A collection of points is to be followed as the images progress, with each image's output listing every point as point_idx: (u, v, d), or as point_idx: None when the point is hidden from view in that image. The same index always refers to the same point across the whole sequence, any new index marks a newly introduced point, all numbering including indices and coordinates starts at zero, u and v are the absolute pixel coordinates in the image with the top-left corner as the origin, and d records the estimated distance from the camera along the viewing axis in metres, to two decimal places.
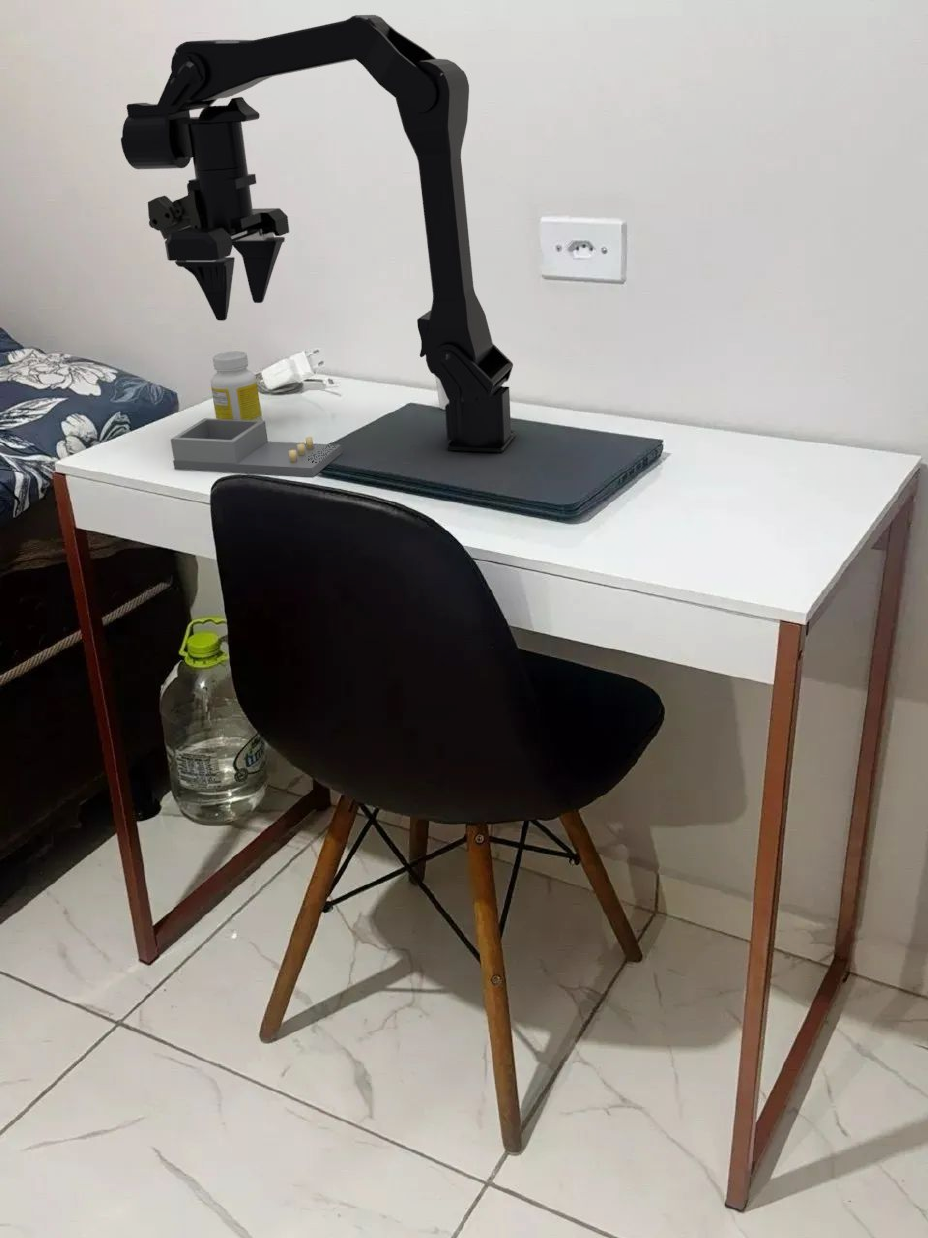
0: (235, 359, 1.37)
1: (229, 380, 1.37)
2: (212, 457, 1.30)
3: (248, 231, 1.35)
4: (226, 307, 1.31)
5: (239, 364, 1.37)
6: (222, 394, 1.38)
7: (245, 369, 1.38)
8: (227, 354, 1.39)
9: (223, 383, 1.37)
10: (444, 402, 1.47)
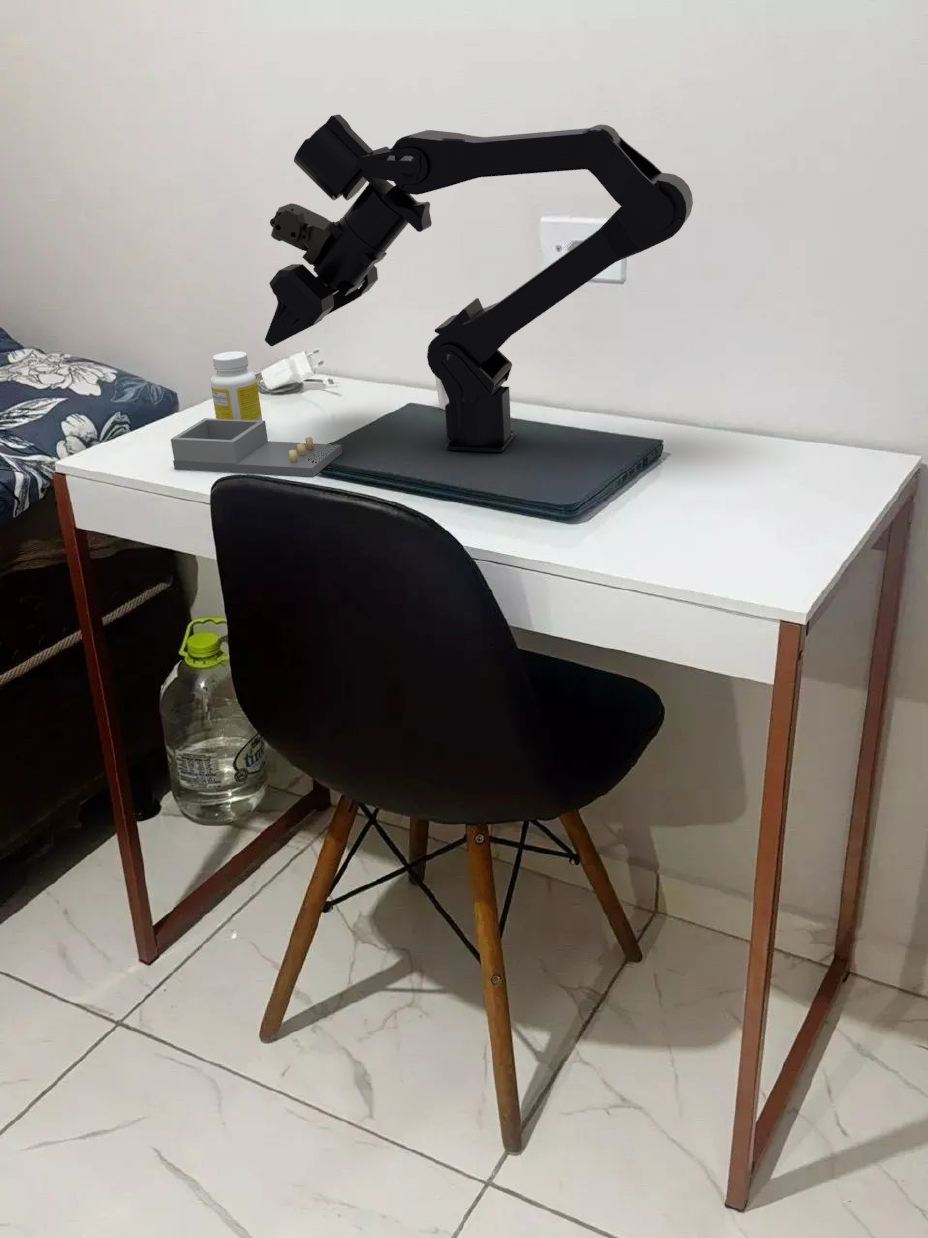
0: (235, 359, 1.37)
1: (229, 380, 1.37)
2: (212, 457, 1.30)
3: None
4: (281, 341, 1.30)
5: (239, 364, 1.37)
6: (222, 394, 1.38)
7: (245, 369, 1.38)
8: (227, 354, 1.39)
9: (223, 383, 1.37)
10: (444, 402, 1.47)
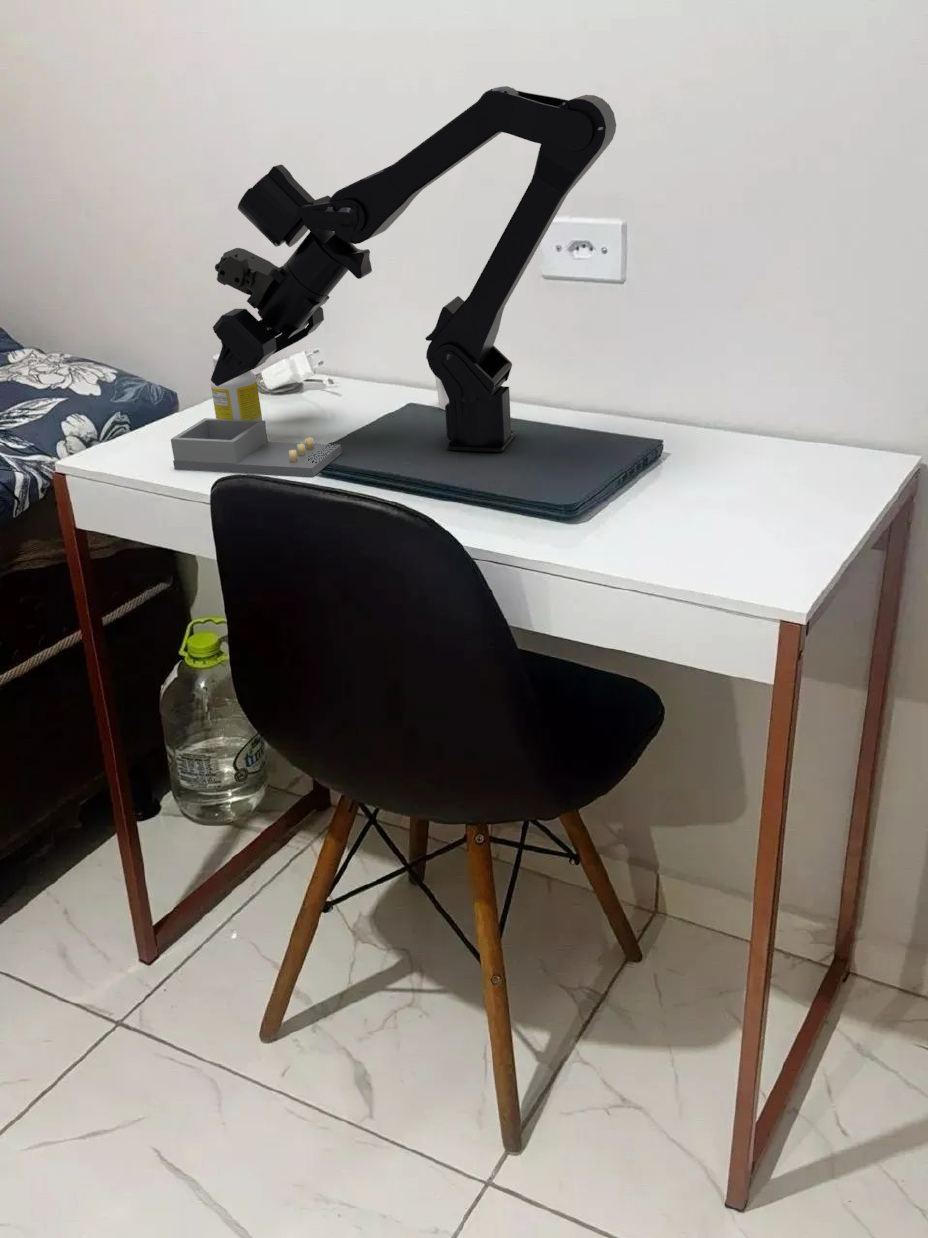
0: None
1: None
2: (212, 457, 1.30)
3: None
4: (226, 381, 1.34)
5: None
6: (222, 394, 1.38)
7: None
8: None
9: None
10: (444, 402, 1.47)
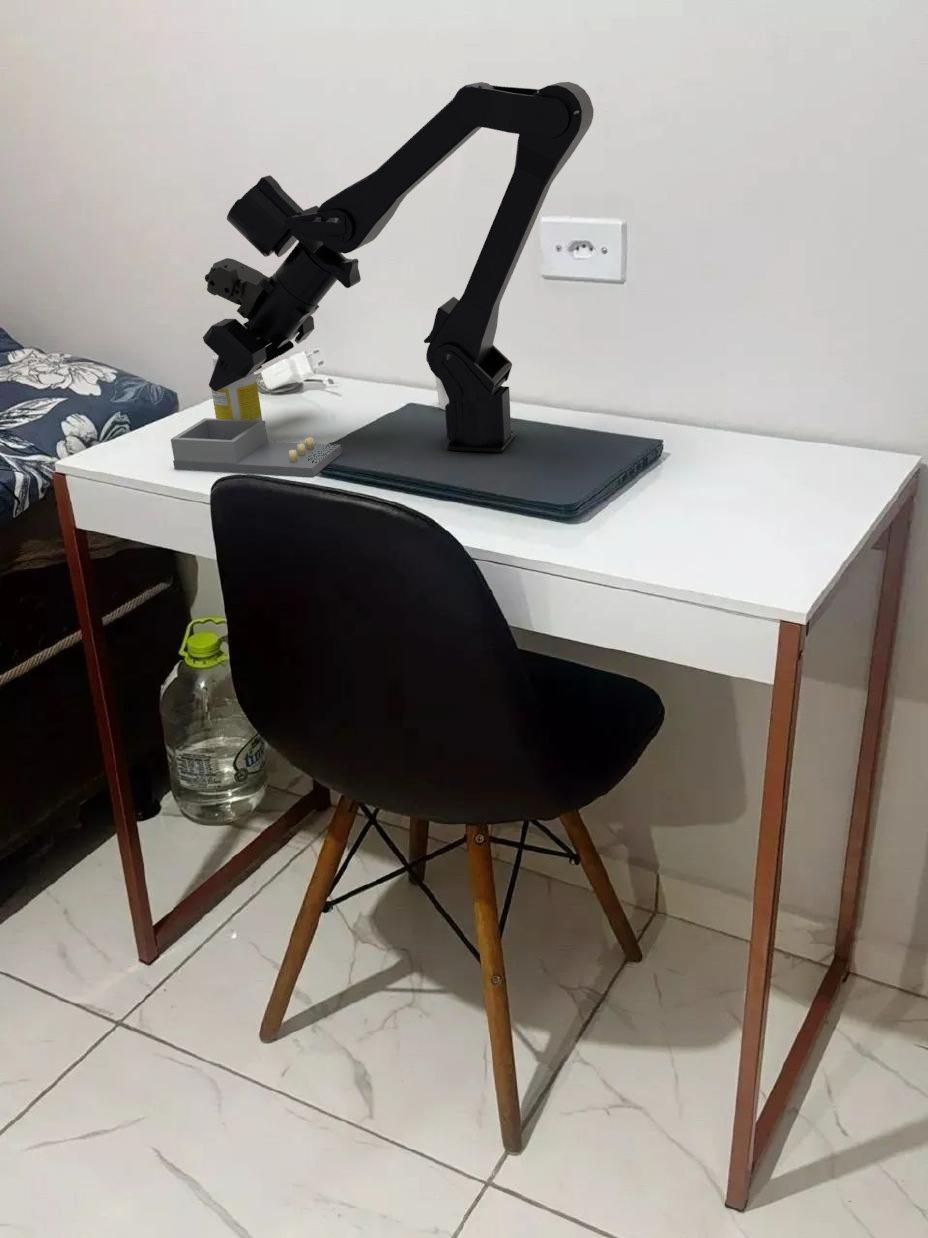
0: None
1: None
2: (212, 457, 1.30)
3: None
4: None
5: None
6: (222, 394, 1.38)
7: None
8: None
9: None
10: (444, 402, 1.47)
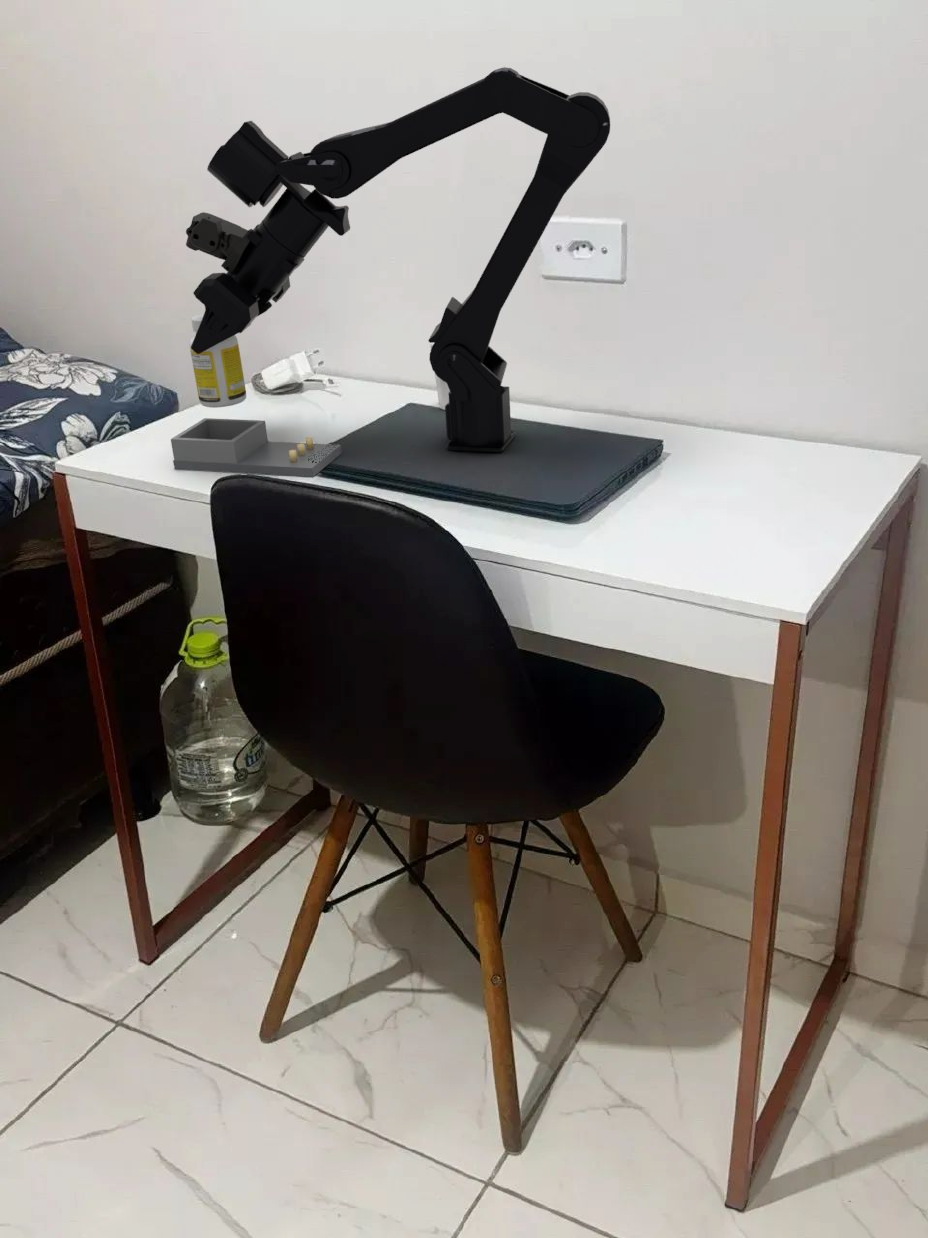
0: None
1: None
2: (212, 457, 1.30)
3: None
4: (208, 348, 1.29)
5: None
6: (205, 357, 1.31)
7: None
8: None
9: None
10: (444, 402, 1.47)
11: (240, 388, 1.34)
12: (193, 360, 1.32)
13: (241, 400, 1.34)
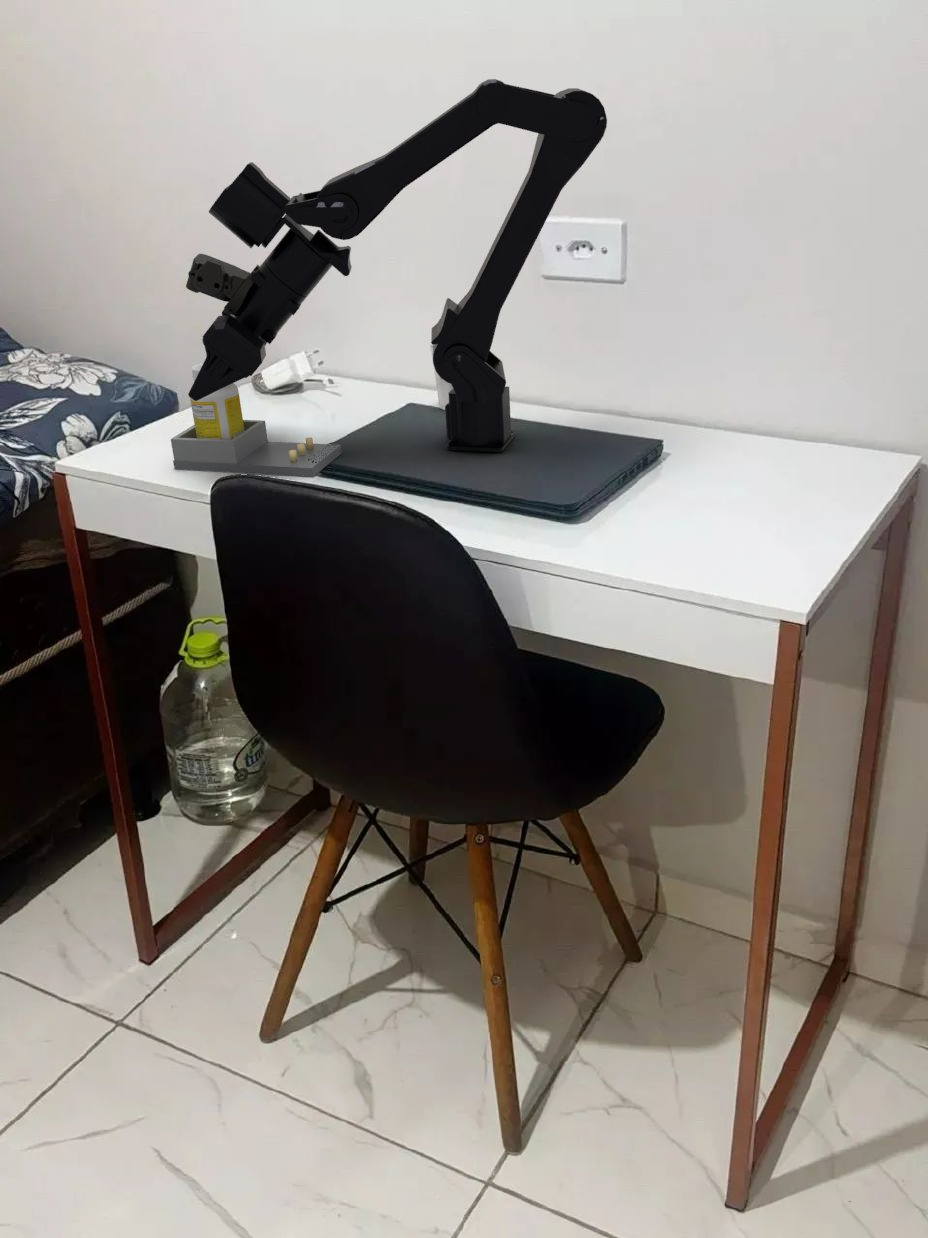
0: None
1: (216, 392, 1.29)
2: (212, 457, 1.30)
3: None
4: (207, 395, 1.26)
5: None
6: (208, 407, 1.29)
7: None
8: None
9: (210, 395, 1.29)
10: (444, 402, 1.47)
11: None
12: (194, 410, 1.30)
13: None
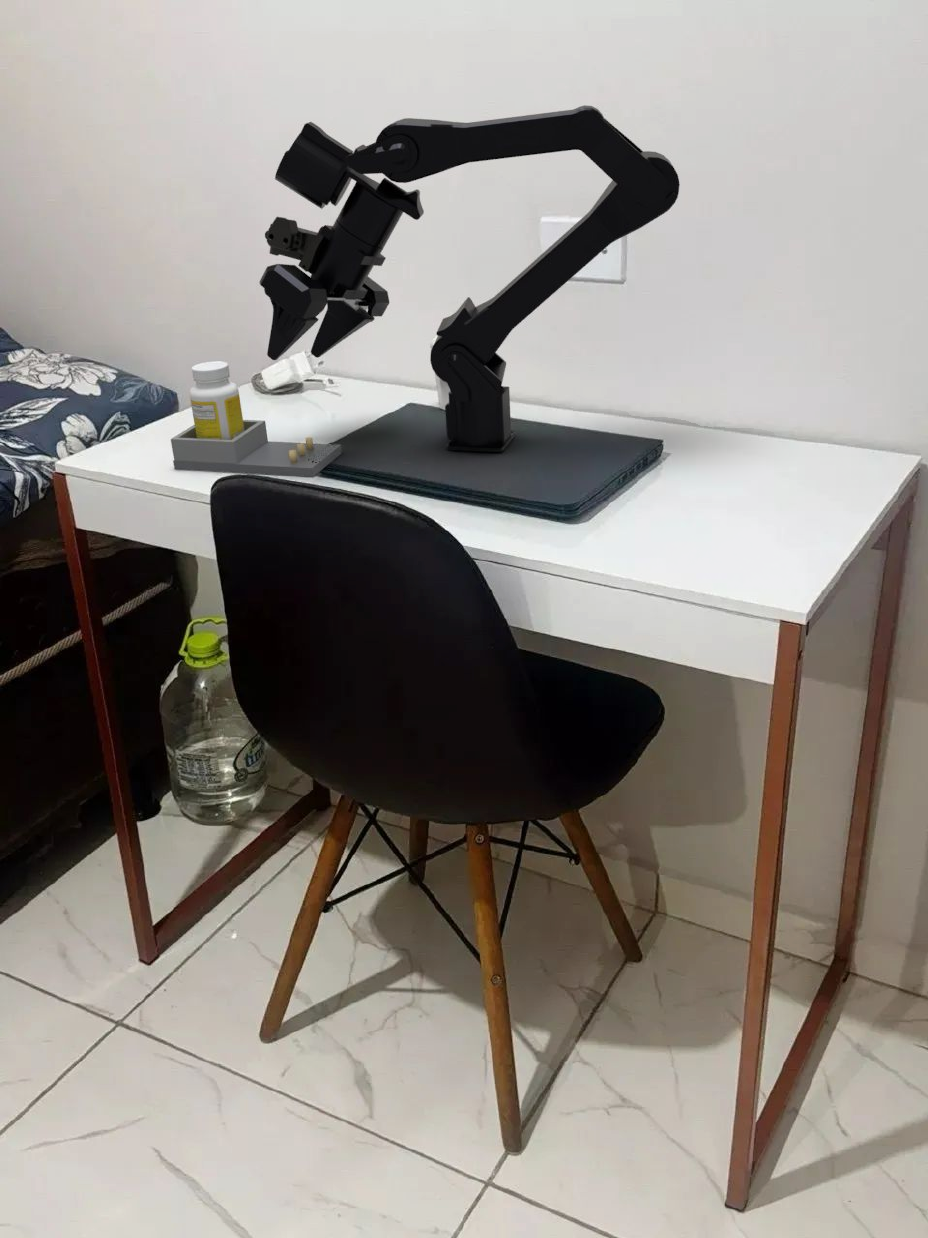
0: (220, 369, 1.29)
1: (216, 392, 1.29)
2: (212, 457, 1.30)
3: None
4: (282, 352, 1.26)
5: (224, 374, 1.29)
6: (208, 407, 1.29)
7: None
8: (206, 365, 1.30)
9: (210, 395, 1.29)
10: (444, 402, 1.47)
11: None
12: (194, 410, 1.30)
13: None
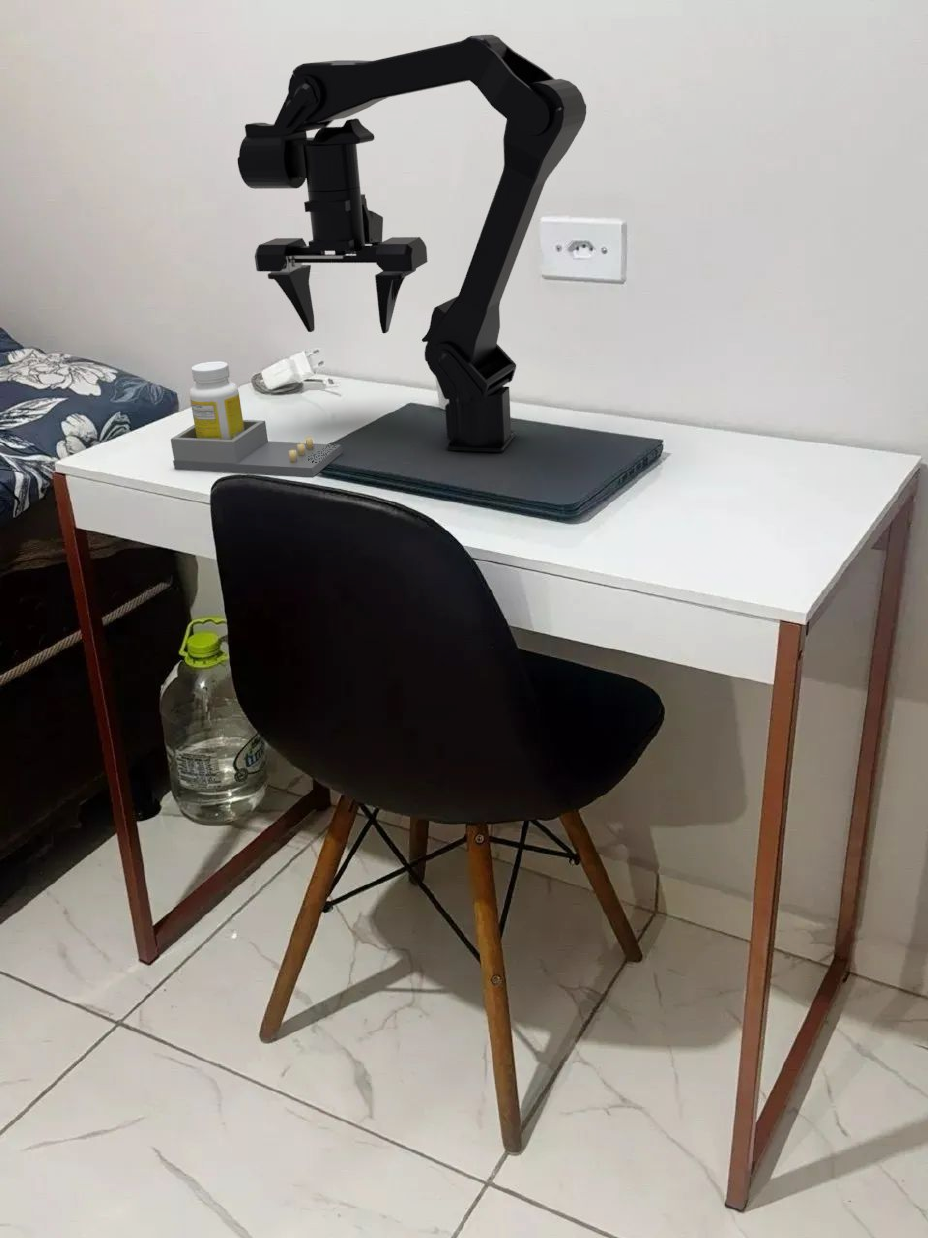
0: (220, 369, 1.29)
1: (216, 392, 1.29)
2: (212, 457, 1.30)
3: (369, 258, 1.30)
4: (302, 320, 1.35)
5: (224, 374, 1.29)
6: (208, 408, 1.29)
7: (227, 379, 1.31)
8: (205, 365, 1.30)
9: (210, 395, 1.29)
10: (444, 402, 1.47)
11: None
12: (194, 410, 1.30)
13: None
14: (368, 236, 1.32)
